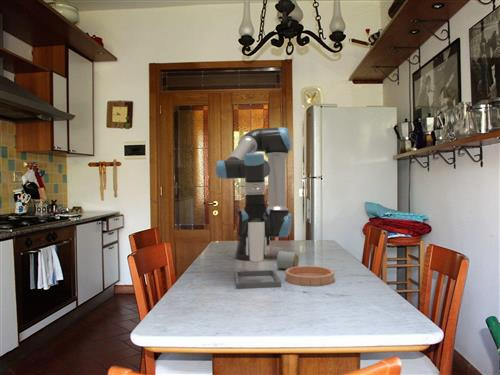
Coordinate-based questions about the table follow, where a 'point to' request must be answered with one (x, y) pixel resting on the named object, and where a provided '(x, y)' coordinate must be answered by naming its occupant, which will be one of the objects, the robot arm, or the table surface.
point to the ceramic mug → (287, 260)
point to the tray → (257, 284)
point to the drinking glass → (256, 240)
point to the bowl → (309, 275)
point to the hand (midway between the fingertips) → (256, 254)
